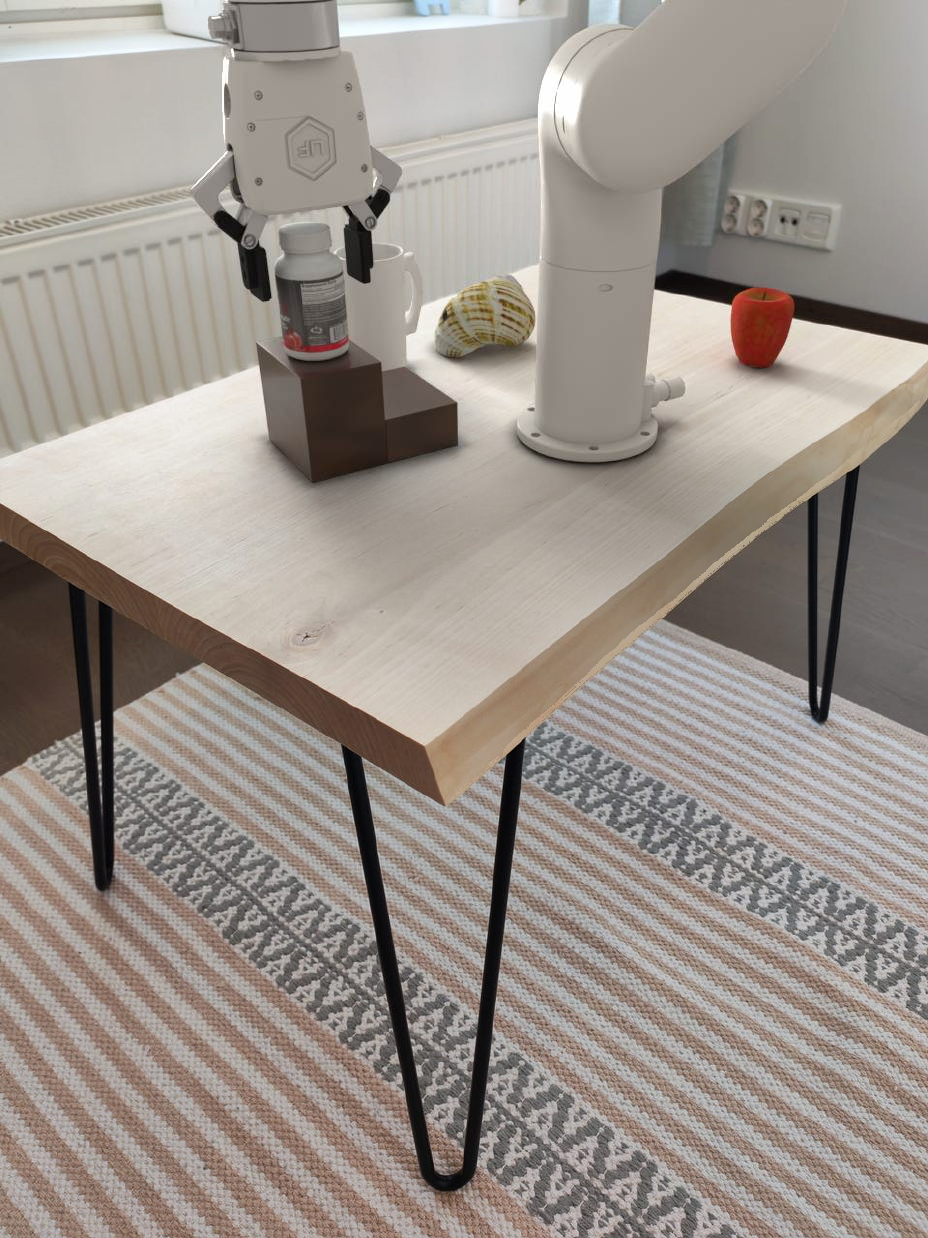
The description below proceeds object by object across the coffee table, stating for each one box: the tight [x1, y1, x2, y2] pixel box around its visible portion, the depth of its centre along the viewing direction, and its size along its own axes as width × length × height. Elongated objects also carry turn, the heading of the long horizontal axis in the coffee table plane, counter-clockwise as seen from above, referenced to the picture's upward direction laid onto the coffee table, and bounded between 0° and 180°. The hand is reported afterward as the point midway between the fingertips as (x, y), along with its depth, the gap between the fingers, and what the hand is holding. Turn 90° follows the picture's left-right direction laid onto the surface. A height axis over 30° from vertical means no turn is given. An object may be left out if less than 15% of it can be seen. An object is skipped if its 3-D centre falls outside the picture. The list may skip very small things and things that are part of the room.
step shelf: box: [255, 335, 459, 483], centre depth 85 cm, size 14×10×9 cm
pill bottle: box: [273, 221, 349, 361], centre depth 78 cm, size 5×5×10 cm
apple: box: [729, 286, 795, 369], centre depth 100 cm, size 6×6×8 cm
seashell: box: [434, 273, 536, 358], centre depth 105 cm, size 10×10×10 cm
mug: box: [333, 242, 424, 371], centre depth 99 cm, size 10×7×12 cm, turn 134°
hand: (310, 286), depth 78 cm, fingers open, 7 cm apart
